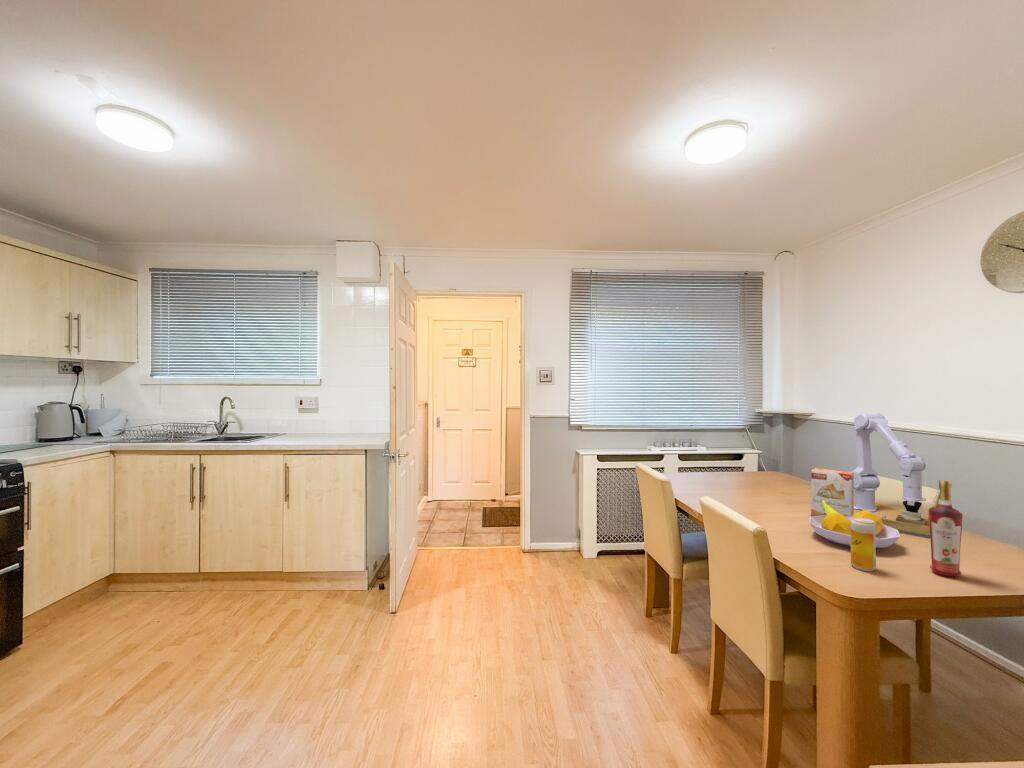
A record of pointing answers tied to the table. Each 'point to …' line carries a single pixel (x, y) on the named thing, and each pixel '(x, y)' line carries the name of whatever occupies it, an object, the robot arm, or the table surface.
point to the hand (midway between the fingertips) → (912, 519)
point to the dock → (908, 528)
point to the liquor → (945, 534)
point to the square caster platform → (911, 518)
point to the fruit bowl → (840, 527)
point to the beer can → (863, 544)
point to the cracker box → (832, 491)
